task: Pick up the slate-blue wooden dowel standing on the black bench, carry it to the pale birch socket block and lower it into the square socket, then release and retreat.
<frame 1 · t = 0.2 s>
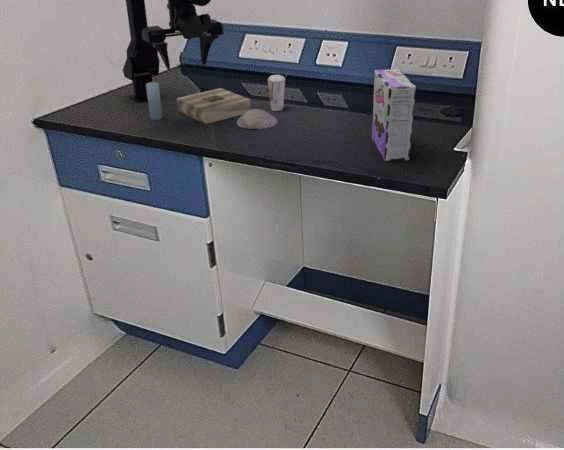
hand: (186, 67, 154), 14 cm above the worktop, fingers open, 9 cm apart
dowel: (156, 117, 164), on the worktop
socket block: (214, 111, 167), on the worktop
candy box: (389, 150, 141), on the worktop
seashell: (257, 125, 158), on the worktop
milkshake: (278, 109, 168), on the worktop
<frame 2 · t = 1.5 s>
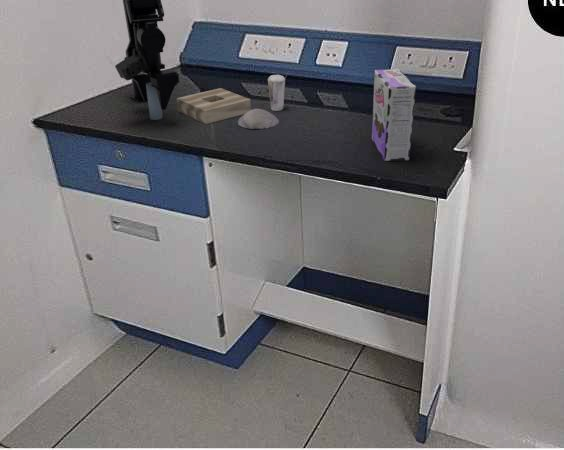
hand: (154, 105, 162), 3 cm above the worktop, fingers open, 9 cm apart
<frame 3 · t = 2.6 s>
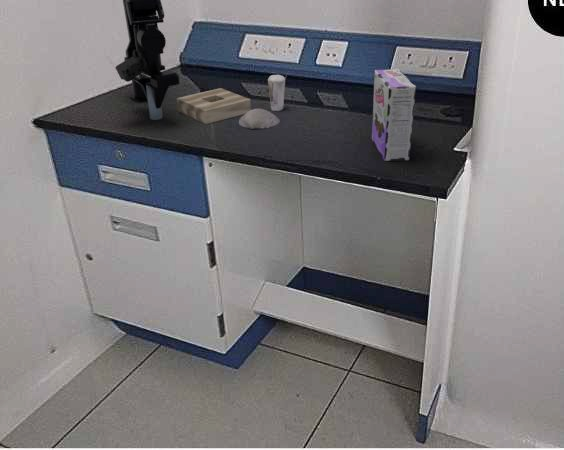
hand: (155, 106, 162), 3 cm above the worktop, fingers closed on dowel, 3 cm apart
dowel: (156, 117, 163), on the worktop, touching gripper
everything else where it was.
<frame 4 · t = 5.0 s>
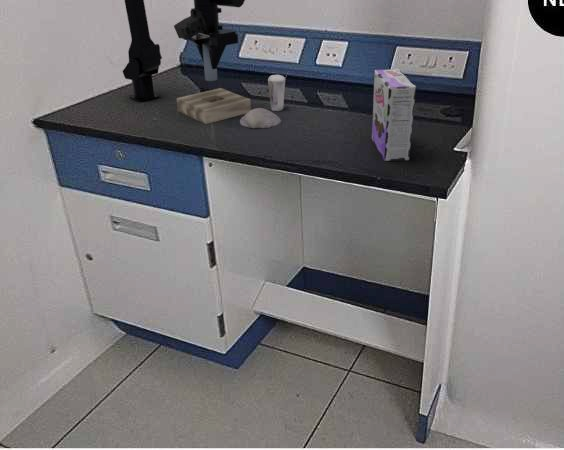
hand: (210, 67, 161), 12 cm above the worktop, fingers closed on dowel, 3 cm apart
dowel: (211, 79, 163), point 9 cm above the worktop, touching gripper
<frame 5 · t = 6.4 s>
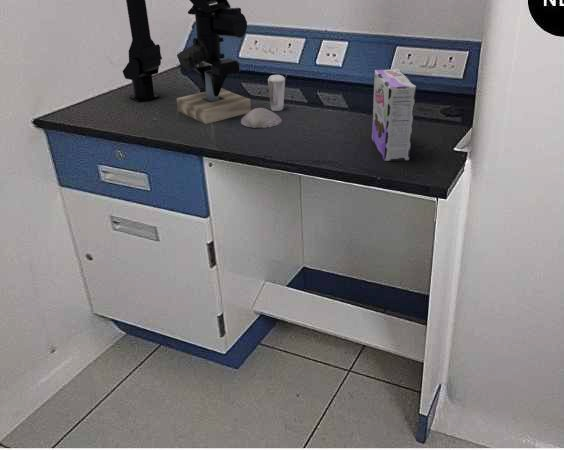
hand: (212, 94, 165), 5 cm above the worktop, fingers closed on dowel, 3 cm apart
dowel: (213, 105, 166), point 2 cm above the worktop, touching gripper
when the fingers open (4 cm above the worktop, at t = 7.2 s): dowel drops 1 cm, resting in socket block.
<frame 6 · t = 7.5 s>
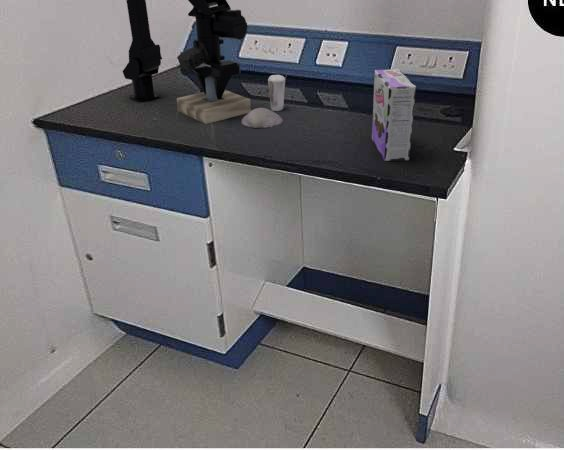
hand: (212, 96, 165), 4 cm above the worktop, fingers open, 6 cm apart
dowel: (213, 111, 167), resting in socket block
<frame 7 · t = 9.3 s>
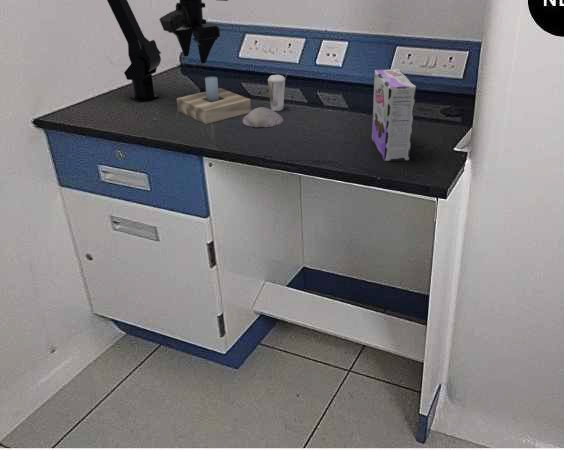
hand: (194, 59, 169), 12 cm above the worktop, fingers open, 9 cm apart
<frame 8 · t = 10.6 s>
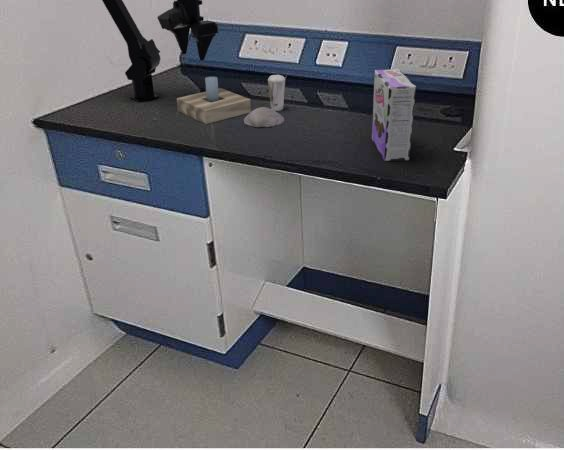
hand: (192, 57, 171), 12 cm above the worktop, fingers open, 9 cm apart
at the end: dowel 0.1 cm off-centre on the socket block, point 0.0 cm above the socket block's base; dowel tilted 0°; the gripper is holding nothing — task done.
